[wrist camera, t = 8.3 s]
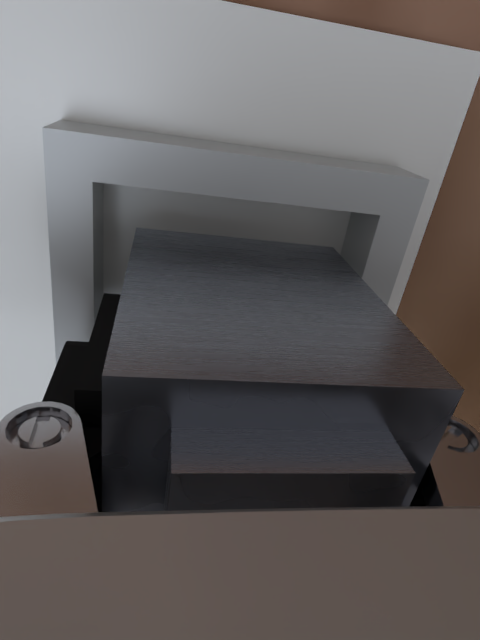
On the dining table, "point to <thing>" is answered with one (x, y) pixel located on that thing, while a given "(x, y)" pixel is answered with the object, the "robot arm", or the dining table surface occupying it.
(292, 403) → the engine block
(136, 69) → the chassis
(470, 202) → the dining table surface
